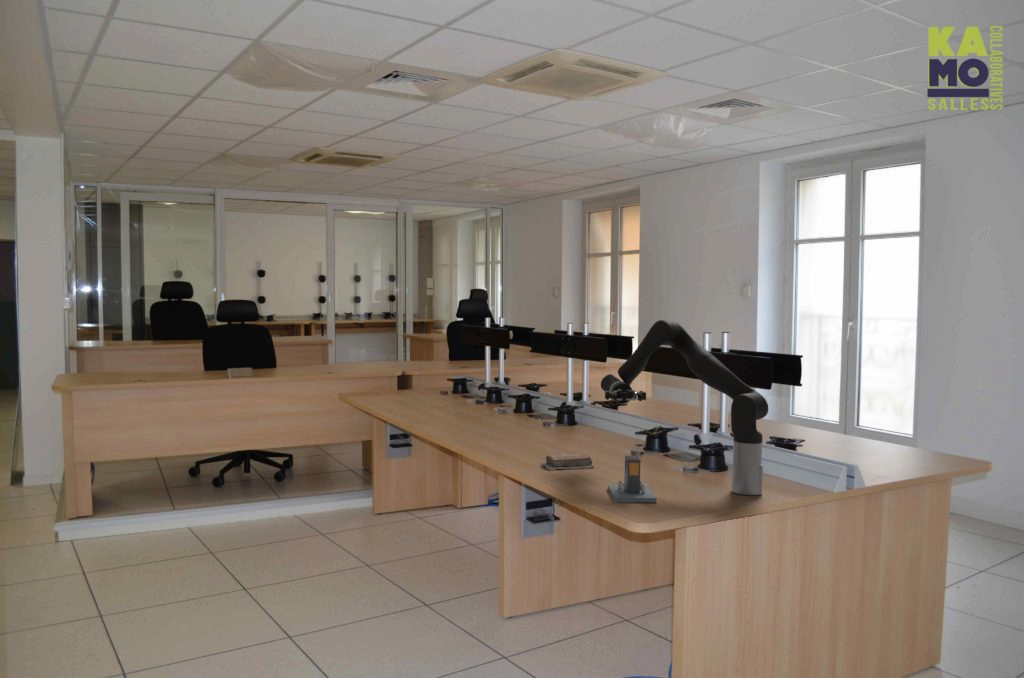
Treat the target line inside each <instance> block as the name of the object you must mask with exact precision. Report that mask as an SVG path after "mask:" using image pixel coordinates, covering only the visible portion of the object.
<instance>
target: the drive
mask: <svg viewBox="0 0 1024 678" xmlns="http://www.w3.org/2000/svg"><path fill="white" fill-rule="evenodd" d="M623 477H624V478H623V479H624V480H623V481H624V489H625V491H626V492H627V494H640V480H641V459H640V457H639V456H638V455H624V476H623Z"/></svg>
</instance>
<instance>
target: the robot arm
mask: <svg viewBox="0 0 1024 678" xmlns="http://www.w3.org/2000/svg"><path fill="white" fill-rule="evenodd" d="M662 346H669V347H671V348H673V349H674V350H676V351H677V353H679V354H680V355H681V356H682V357H684V359H685V361H686V364H687V366H688V368H689V369H690V371H691V372H692V373H693V374H694V375H695V376H696V377H697V378H698V379H699V380H701V382H703V383H704V384H705V385H707V386H708V387H710V388H713V389H714V390H716V391H718V392H719V393H722V394H724V395H726V396H728V397H729V398H730V399H731V400H732V401H731V406H730V423H731V424H730V427H731V428H730V429H731V433H732V435H733V437H732V438H733V443H732V444H733V445H732V447H733V449H732V476H731V479H732V480H731V492H732V493H734V494H738V495H742V496H743V495H744V496H758V495H759V496H762V495H763V477H764V476H763V475H764V474H763V473H764V472H763V471H764V469H763V468H764V467H763V465H762V463H763V434H762V433H761V432H760V431H758V429H757V421H759V420H762V419H763V418H766V416H767V415H768V413H769V404H768V402H767V400H766V398H765V397H764V396H763V395H762V394H761V393H759V392H758V391H756V390H755V389H753V388H752V387H751V386H749V385H747V384H746V383H745V382H743V381H742V380H741V379H740V378H739V377H737V375H736V374H735V373H733V372H732V371H731V370H730V369H729V368H727V366H726V365H724V364H723V363H722V362H721V361H720V360H719V359H718V358H717V357H715V355H713V354H712V353H711V352H710V351H708V350H707V349H706V348H704V347H703V346H702V345H701V344H700V343H699V342H698V341H696V340H695V339H694V338H693V337H692V336H691V335H690V334H689V333H688V332H687V330H685V328H684V327H683V326H682V325H681V324H680V323H679V322H676V321H674V320H668V319H667V320H666V319H660V320H657V321H655V322H654V324H653V325H652V326H651V327H650V328H649V330H648V332H647V333H646V334H645V336H644V337H643V339H642V341H641V342H640V343H639V345H638V346H637V348H636V349H635V351H634V352H633V353H632V354H631V355H630V356H629V357H628V358H627V360H626V361H624V363H623V364H622V365H621V366H620V367H619V368H618V370H617V374H618V376H619V378H620V379H621V380H620V379H619V378H617V377H616V376H615V375H614V374H611V373H610V374H606V375H604V377H602V379H601V381H600V389H601V390H603V391H604V399H605V400H607V401H608V400H612V401H615V402H616V403H617V404H620V405H623V404H627V403H629V402H631V401H635V402H636V401H639V402H642V401H647V392H645V391H643V390H640V391H637V390H633V388H632V387H631V384H632V383H633V382H634V381H635V380H636V378H637V377H638V376H639V375H640V374H641V373H642V372H643V370H644V369H645V368H646V366H647V364H648V361H649V360H650V357H651V356H652V354H653V353H654V352H655V351H656V350H657V349H659V348H660V347H662Z"/></svg>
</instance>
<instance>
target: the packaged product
mask: <svg viewBox="0 0 1024 678" xmlns="http://www.w3.org/2000/svg"><path fill="white" fill-rule="evenodd" d="M545 457H546V458H545V461H541V462H540V463H541V465H543V466H542V467H544V466H545V467H546V469H547V470H548V469H549V470H548V471H557V470H556V469H568V470H584V468H587V469H594V468H595V466H594V465H592V464H593V460H592V459H591V456H590V455H588V454H586V453H572V454H571V453H569V454H548V455H546V456H545ZM545 467H544V468H545Z"/></svg>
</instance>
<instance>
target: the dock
mask: <svg viewBox="0 0 1024 678" xmlns="http://www.w3.org/2000/svg"><path fill="white" fill-rule="evenodd" d="M607 490H609V491H608V493H609V494H610V495H611V497H612V499H613V501H614V502H615V503H634V502H652V503H653V504H654V502H656V503H657V496H656V495H655V494H654V493H653V492H652V490H651V489H650V488H649V487H648V485H646V483H643V479H642V480H641V479H640V494H627V492H626V491H625V489H624V483H623V480H622V479H619V480H618V481H617V484H609V485H607ZM652 503H651V504H652Z"/></svg>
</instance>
